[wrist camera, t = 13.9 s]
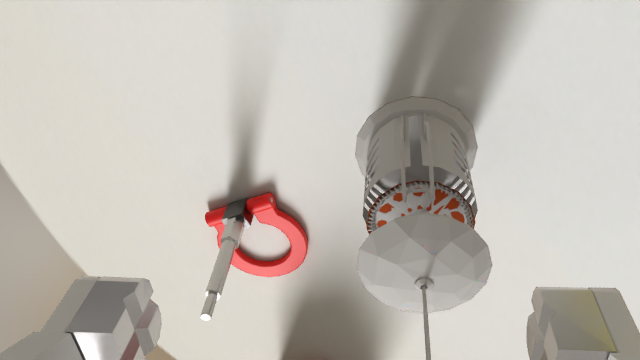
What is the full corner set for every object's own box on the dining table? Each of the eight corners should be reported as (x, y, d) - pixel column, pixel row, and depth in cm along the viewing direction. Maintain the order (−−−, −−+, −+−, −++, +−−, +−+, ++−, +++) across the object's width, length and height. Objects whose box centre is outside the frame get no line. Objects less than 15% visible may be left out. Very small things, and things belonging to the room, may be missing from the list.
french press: (361, 203, 49) (338, 494, 28) (345, 80, 43) (302, 340, 22) (476, 197, 47) (541, 501, 27) (478, 68, 41) (565, 337, 20)
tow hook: (322, 256, 54) (279, 184, 49) (308, 374, 43) (250, 297, 38) (247, 276, 56) (198, 210, 51) (216, 392, 46) (152, 322, 41)
